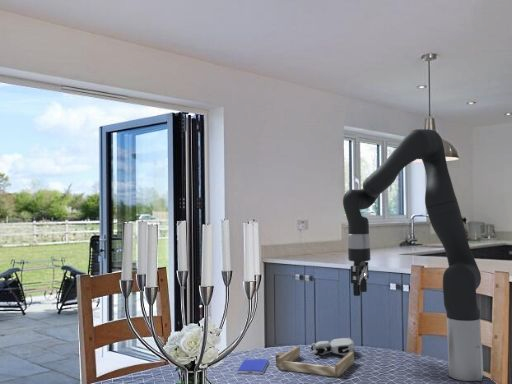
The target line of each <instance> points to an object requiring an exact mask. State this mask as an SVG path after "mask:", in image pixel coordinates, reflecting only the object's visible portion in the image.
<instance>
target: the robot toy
mask: <svg viewBox="0 0 512 384" xmlns="http://www.w3.org/2000/svg"><path fill="white" fill-rule="evenodd" d="M310 345H311V347H310V350H311V354H316V355H320V356H324V355H327V354H330V353H331V352H332V353H333V354H335V355H340V356H341V357H345V356H346V355H347V354H349V353H350V352H354V351H355V348H356V347H355V342H354V341H353V340H352V339H351V337H348V338H347V337H341V338H340V337H339V338H334V339H332V340H331V341H329V340H321V341H320V340H319V341H315V342H314V343H311V344H310Z"/></svg>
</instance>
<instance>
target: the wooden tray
mask: <svg viewBox="0 0 512 384" xmlns="http://www.w3.org/2000/svg"><path fill="white" fill-rule="evenodd" d="M300 349H301V348H300V346H298V345H296V346H295V347H293V348H292V349H289V351H287V352H278V353H277V354H275V367H277V369H278V370H282V371H283V370H284V371H290V372H296V373H297V372H298V373H306V374H314V375H320V376H321V375H322V376H327V377H329V376H330V377H337V378H339V377H340V376H342V375H343V374H344V372H346V371H347V370H348V369H349V368H350V367H351V366H353V364H354V363H355V352H354V351H353V352H350V353H349V354H347V355H346V356H343V357H342V358H341V359H340V360H339V361H338V362H336V363H335V365H334V366H330V365H320V364H314V363H313V364H312V363H304V362H297V361H296V360H297V359H299V358H301V350H300Z"/></svg>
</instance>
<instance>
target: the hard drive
mask: <svg viewBox="0 0 512 384" xmlns="http://www.w3.org/2000/svg"><path fill="white" fill-rule="evenodd" d="M269 363H270V360H269V359H267V358H263V359H262V358H245V359H243V361H242V363H241V364H240V366H239V367H238V368H237V370H236V373H237V374H247V375H248V374H249V375H251V374H253V375H263V374H264V372H265V370H266V368H267V367H268V365H269Z"/></svg>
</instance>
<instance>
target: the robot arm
mask: <svg viewBox="0 0 512 384" xmlns="http://www.w3.org/2000/svg"><path fill="white" fill-rule="evenodd" d="M416 160H421V161H422V164H423V167H424V171H425V175H426V187H425V194H424V204H425V209H426V212H427V216H428V219H429V221H430V224H431V227H432V229H433V231H434V233H435V234H436V236H437V238H438V240H439V241H440V243H441V245H442V246H443V247H442V248H443V249H444V251H445V254H446V259H447V262H448V264H447V265H448V267H447V268H445V271H444V273H443V275H442V293H443V294H442V295H443V305H444V308H445V311H446V333H447V334H446V335H447V357H448V358H447V362H448V368H447V369H448V376H449V377H450V378H452V379H455V380H458V381H461V382H463V381H464V382H477V381H478V382H482V380H483V377H484V360H483V356H484V355H483V342H482V333H481V332H482V330H481V327H482V326H481V310H480V308H479V306H478V302H477V301H478V300H477V289H478V288H479V287H480V284H481V281H482V276H481V272H480V268H479V266H478V264H477V262H476V259H475V257H474V254H473V252H472V250H471V246H470V244H469V241H468V235H467V232H466V227H465V224H464V223H465V222H464V221H463V220H464V219H463V217H462V213H461V208H460V205H459V202H458V199H457V196H456V194H455V190H454V189H455V188H454V186H453V183H452V178H451V176H450V173H449V168H448V163H447V158H446V152H445V147H444V143H443V140H442V137H441V135H440V134H439V133H438V132H437V131H436V130H434V129H431V128H430V129H428V128H427V129H425V128H424V129H423V128H422V129H421V128H419V129H413V130H411V131H409V132H408V133H407V134H406V135H405V136H404V138H403V139H402V140H401V141H400V142H399V143H398V145H397V146H396V148H395V149H394V150H393V151H392V152H391V154H390V155H388V157H387V158H386V159H385V160H384V162H383V163H382V164H381V165H379V166H378V167H377V168H376V169H375V170H374V171H373V172H371V174H370V175H368V176H367V177H365V179H364V180H363V183H362V188H361V189H349V190H347V191H345V192H344V195H343V198H342V205H343V206H342V207H343V210H344V213H345V217H346V220H347V225H348V226H347V230H348V233H347V235H348V238H347V253H348V255H347V259H348V261H349V262H353V265H350V284H352V285H353V288H352V289H353V293H352V294H353V296H355V297H360V296H361V293H366V292H368V285H367V283H368V279H369V275H370V273H369V262H370V261H371V239H370V226H369V219H368V218H367V217H365V216H363V215H362V212H361V210H362V211H363V210H367V209H368V208H370V207H372V205H374V203H375V201H376V200H377V199H378V198H379V196H380V195H381V194H382V193H383V192H384V191H386V190H387V189H389V187H390V186H392V185H393V183H394V182H395V181H396V179H397V178H398V177H399V174H400V172H401V171H402V170H403V169H404V168H405V167H406V166H408V165H409V164H411V163H413V162H414V161H416Z"/></svg>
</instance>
